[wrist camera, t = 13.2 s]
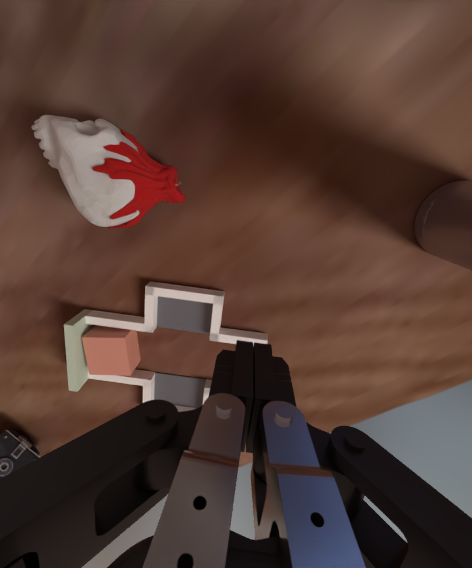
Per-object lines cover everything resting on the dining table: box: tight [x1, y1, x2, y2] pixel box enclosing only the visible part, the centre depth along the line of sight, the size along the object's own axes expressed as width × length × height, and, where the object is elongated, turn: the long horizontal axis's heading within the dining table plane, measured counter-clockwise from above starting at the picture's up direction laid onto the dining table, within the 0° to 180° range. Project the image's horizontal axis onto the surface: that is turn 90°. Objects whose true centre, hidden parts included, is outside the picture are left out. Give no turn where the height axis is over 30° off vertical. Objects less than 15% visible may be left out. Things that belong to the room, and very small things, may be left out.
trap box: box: [64, 281, 268, 412], centre depth 42 cm, size 27×22×5 cm
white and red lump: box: [31, 115, 185, 228], centre depth 33 cm, size 9×11×15 cm
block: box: [82, 325, 140, 376], centre depth 43 cm, size 6×6×4 cm
